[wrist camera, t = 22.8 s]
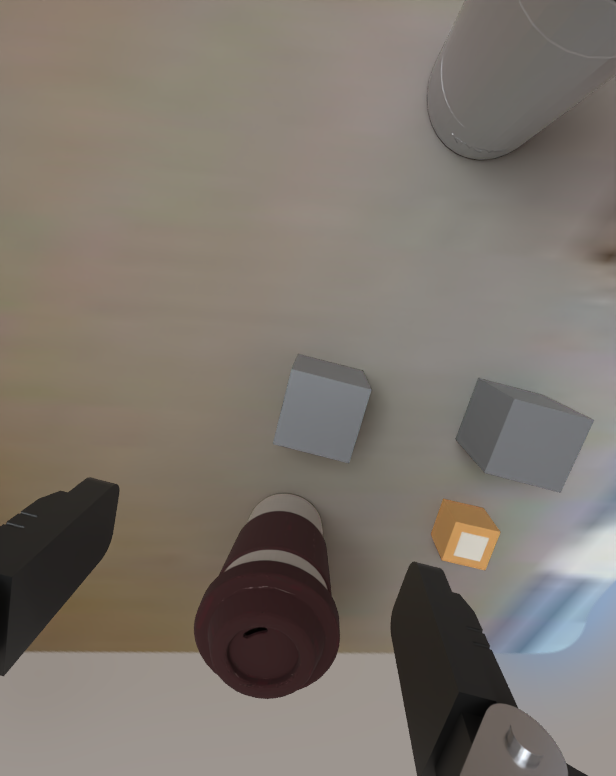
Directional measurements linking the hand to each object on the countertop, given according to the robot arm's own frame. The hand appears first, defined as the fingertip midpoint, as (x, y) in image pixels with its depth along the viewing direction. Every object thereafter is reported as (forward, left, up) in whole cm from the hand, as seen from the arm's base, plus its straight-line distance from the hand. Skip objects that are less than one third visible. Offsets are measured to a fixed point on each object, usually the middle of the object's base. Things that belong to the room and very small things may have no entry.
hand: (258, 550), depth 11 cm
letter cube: (+11, +18, -26) cm, 34 cm away
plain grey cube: (+2, +2, -26) cm, 26 cm away
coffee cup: (+16, +2, -26) cm, 31 cm away
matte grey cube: (0, +18, -26) cm, 32 cm away
